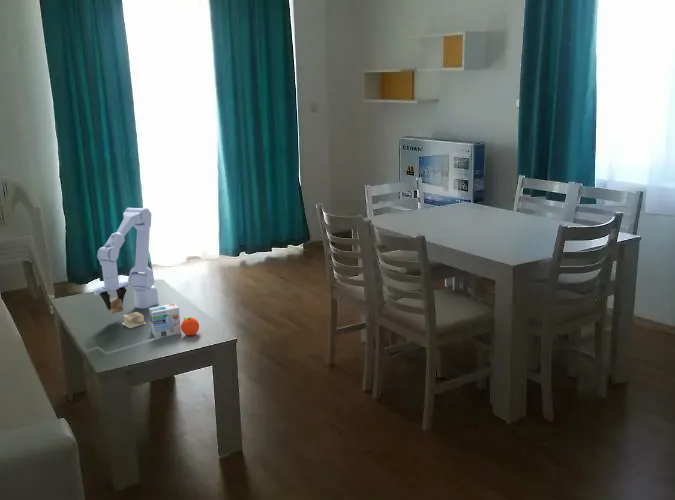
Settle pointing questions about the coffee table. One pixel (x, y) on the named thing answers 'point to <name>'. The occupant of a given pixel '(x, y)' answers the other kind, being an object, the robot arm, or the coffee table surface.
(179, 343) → the coffee table surface
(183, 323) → the clementine
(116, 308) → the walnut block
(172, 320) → the light bulb box
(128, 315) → the cream square block
